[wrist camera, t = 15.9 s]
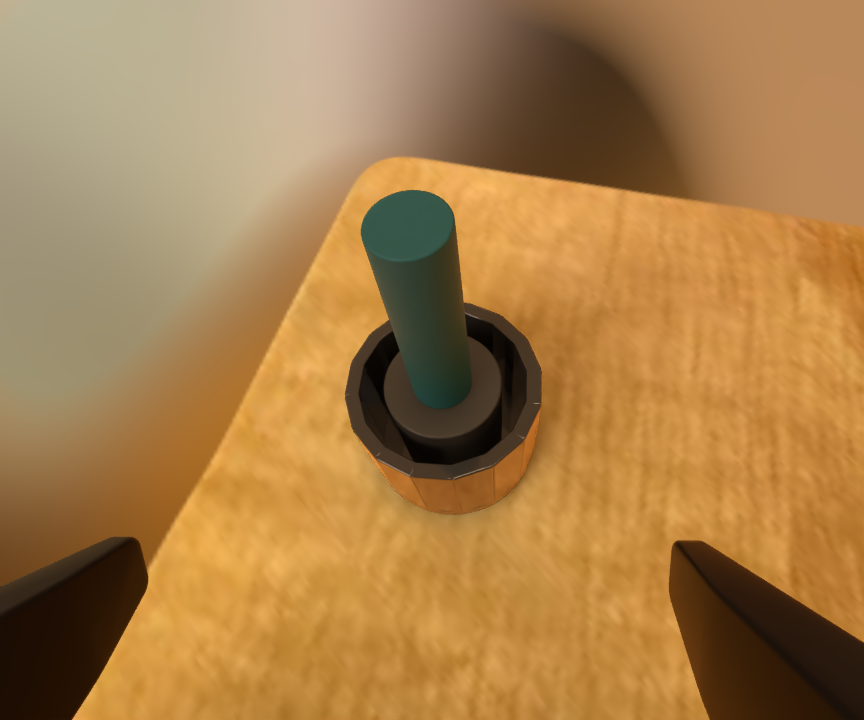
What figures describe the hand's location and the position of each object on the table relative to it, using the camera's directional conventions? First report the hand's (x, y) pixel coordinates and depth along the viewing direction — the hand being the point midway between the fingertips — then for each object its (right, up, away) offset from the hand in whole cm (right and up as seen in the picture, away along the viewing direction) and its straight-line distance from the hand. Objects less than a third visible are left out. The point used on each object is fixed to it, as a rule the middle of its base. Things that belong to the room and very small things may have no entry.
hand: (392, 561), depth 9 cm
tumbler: (+2, 0, +13) cm, 13 cm away
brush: (+2, 0, +13) cm, 13 cm away
